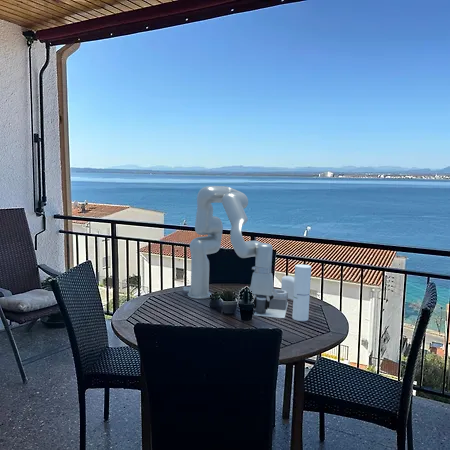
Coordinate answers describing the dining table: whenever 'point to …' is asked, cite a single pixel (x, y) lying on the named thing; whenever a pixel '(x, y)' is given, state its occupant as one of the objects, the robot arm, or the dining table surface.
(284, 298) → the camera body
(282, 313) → the board
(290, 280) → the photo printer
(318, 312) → the dining table surface
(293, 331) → the dining table surface
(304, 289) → the cylindrical container
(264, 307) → the lens
